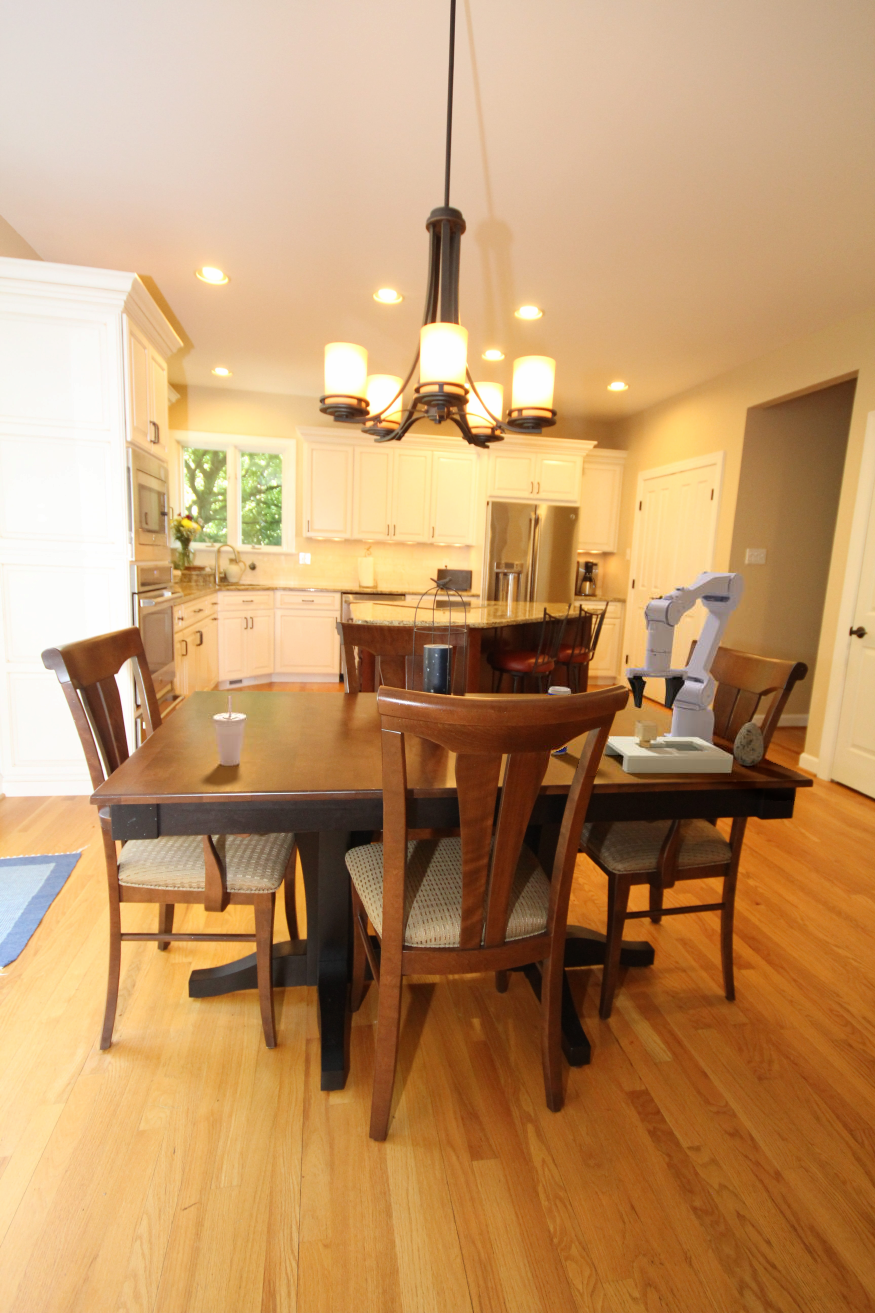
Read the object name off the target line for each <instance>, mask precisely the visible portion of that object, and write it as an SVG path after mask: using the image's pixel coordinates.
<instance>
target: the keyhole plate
mask: <svg viewBox="0 0 875 1313" xmlns="http://www.w3.org/2000/svg"><path fill="white" fill-rule="evenodd" d="M608 736H609V735H608ZM605 755H606V756H610V755H611V756H620V755H621V756H623V759H622V760H623V761H622V770H623V772H625V773H626V774H627V773H628V774H638V773H639V774H640V773H641V774H661V773H662V774H663V773H664V774H665V773H666V774H669V773H670V774H679V773H680V774H681V773H682V774H685V773H686V774H690V773H691V774H701V773H702V774H709V773H710V774H711V773H712V774H714V773H715V774H718V773H719V774H720V773H721V774H723V773H724V774H727V773H728V774H729V773H730V774H731V773H732V768H733V763H734V762H733V760H734V754H733V755H732V754H731V753H729V752H727V751H724V750H723V749H721V748H720V747H717V746H715V745H714V744H710V743H708V742H706V741H704V740H702V739H700V738H698V737H666V736H657V741H655V740H651V744H650V748H641V747H639V738H637V737H636V736H622V735H621V736H616V735H615V736H612V735H611V736H609V739H608V742H607V745H606V748H605V754H604V756H605Z"/></svg>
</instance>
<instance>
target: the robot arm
mask: <svg viewBox="0 0 875 1313" xmlns="http://www.w3.org/2000/svg"><path fill="white" fill-rule="evenodd" d="M744 580H745V579H744V577H743V575H742V574H741V573H740V572H734V573H733V572H715V571H714V572H713V571H711V572H710V571H707V570H706V571H705V570H704V571H703V572H701V573H699V574H698V575H697V578H696V581H694V582H693V583H692V584H690V585H689V586H688V587H686V586H681V585H678V586H677V587H675V590H673V591H672V592H670V593H668V594H665V595H664V597H662V598H661V599H660V598H659V599H658V598H654V599H652V600H651V601H649V602H648V603H647V604H646V608H645V610H644V612H643V614H644V619H645V628H646V630H647V637H646V647H645V648H646V649H645V657H644V667H626V668H625V673H624V674H625V677H626V678H627V682H628V684H629V686H630V688H631V692H632V697H633V704H634V707H635V708H637V709H642V706H643V699H644V698H643V697H644V693H645V692H644V691H645V688H646V685H647V681H646V680H644V678H658V679H659V678H660V679H661V678H664V684H665V696H664V707H665V708H667V709H669V710H670V709H671V710H672V708H673V711H672V719H671V727H670V728H671V729H670V733H667V732H666V733H663V737H698V738H700V739H702V740H704V741H706V742H708V743H710V744H712V745H714V741H713V734H714V727H715V713H714V711H713V709H712V708H711V707H710V706H711V705H712V703H713V701H714V698H715V690H716V687H717V682H716V680H715V678H714V677H713V676H712V675H711V674H710V672H711V668H712V666H713V664H714V663H713V662H714V659H715V658H716V655H717V652H718V649H719V647H720V645H721V642H722V639H723V636H724V634H725V632H726V629H727V625H728V622H729V620H730V618H731V615H732V612H733V611H735V610H737V609H738V607H739V604H740V602H741V599H742V597H743V594H744V591H745V581H744ZM699 599H700V600H701V601H700V602H701V604H702V607H704V608H706V609H707V610H708V613H707V616H706V618H705V621H704V623H703V627H702V629H701V632H700V635H699V637H698V639H697V642H696V644H695V647H694V649H693V653H692V655H691V658H690V660H689V663H688V665H687V666H686V667H682V668H671V665H672V664H671V663H672V655H673V644H674V636H675V626H677V625H678V624H679V623H680V621H681V619H682V617H683V616H684V614H685V613H687V612H688V611H690V610H691V609H693V608H694V607H695V605H696V602H697V600H699Z"/></svg>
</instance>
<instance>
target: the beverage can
mask: <svg viewBox="0 0 875 1313" xmlns="http://www.w3.org/2000/svg"><path fill="white" fill-rule="evenodd" d="M547 693H548V694H547V696H548V695H568V694H571V695H572V691H571V689H570V688H569V687H566V686H550V687H549V689H548V692H547ZM567 749H568V745H567V746H566V747H564V748H563V749H561V750H559V751H556V752H554V753H553V754H552V755H553V756H555V755H556V756H559V755H560V756H562V755H564V754H565V753H566V752H567ZM561 754H562V755H561Z"/></svg>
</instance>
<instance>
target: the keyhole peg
mask: <svg viewBox="0 0 875 1313" xmlns="http://www.w3.org/2000/svg"><path fill="white" fill-rule="evenodd" d="M658 730H659V724H657V723H655V722H653V721H651V720H635V728H634V734H633V735H634V736H633V737H637V738H639V747H641V748H650V744H651V740H655V741H657V737H658V732H659V731H658Z"/></svg>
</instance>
